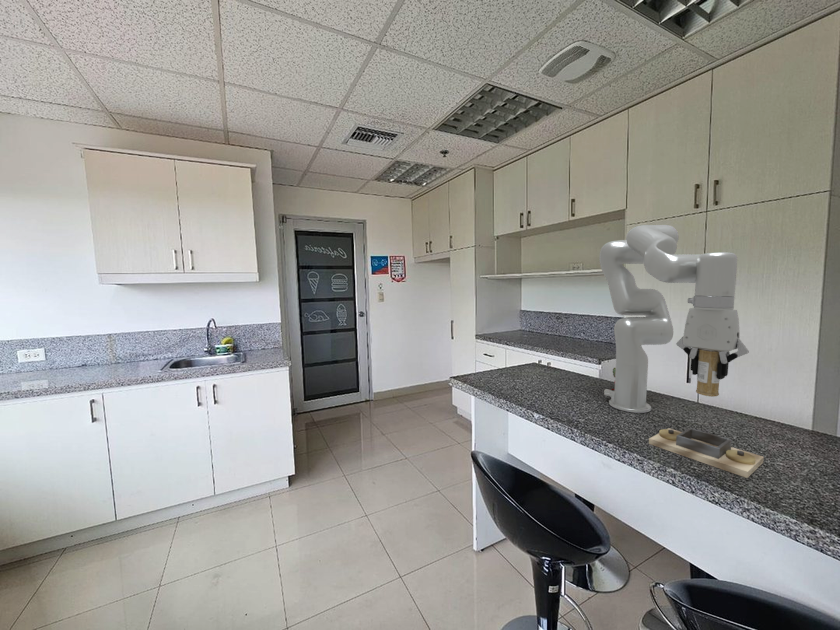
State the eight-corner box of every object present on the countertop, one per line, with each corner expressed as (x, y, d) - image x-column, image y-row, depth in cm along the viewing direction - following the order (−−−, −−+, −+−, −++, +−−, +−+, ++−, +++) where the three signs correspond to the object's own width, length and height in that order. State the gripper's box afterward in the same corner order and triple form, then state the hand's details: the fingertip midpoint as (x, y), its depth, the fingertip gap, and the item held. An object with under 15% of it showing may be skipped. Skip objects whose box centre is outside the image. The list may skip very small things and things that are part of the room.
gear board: (648, 443, 94) (649, 429, 94) (668, 433, 100) (669, 419, 100) (747, 478, 77) (748, 461, 77) (763, 462, 84) (764, 446, 83)
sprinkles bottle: (722, 398, 85) (726, 343, 83) (699, 395, 86) (703, 342, 85) (714, 392, 89) (718, 340, 88) (692, 390, 90) (696, 339, 89)
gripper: (667, 302, 90) (663, 371, 92) (755, 305, 76) (748, 387, 78) (679, 301, 94) (675, 367, 96) (765, 304, 80) (758, 381, 82)
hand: (708, 375), depth 87 cm, fingers closed on sprinkles bottle, 4 cm apart
